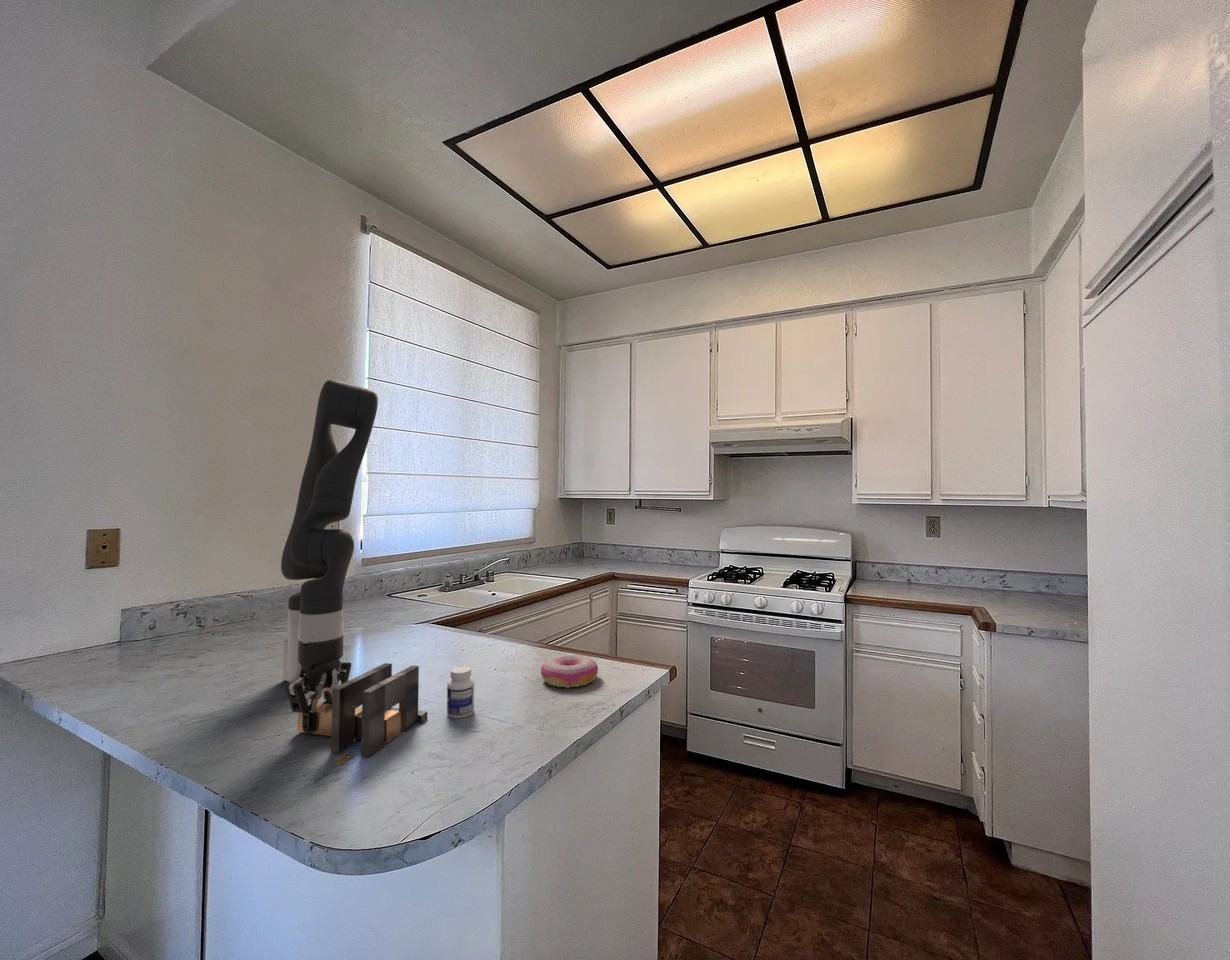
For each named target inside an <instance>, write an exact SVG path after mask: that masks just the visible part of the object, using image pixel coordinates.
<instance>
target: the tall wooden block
mask: <svg viewBox="0 0 1230 960" xmlns="http://www.w3.org/2000/svg"><path fill="white" fill-rule="evenodd" d="M308 705H310V703H308ZM316 711H317V712H316V731H315V732H313V733H310V734H311V735H320V736H326V737H327V736H329V737H331V733H332V704H330V703H323V702H321V701H318V702H317V707H316ZM302 723H303V722H302V713H298V712H297V730H296V731H297V733H305V734H307V733H306V732H304V730H303V729H302ZM400 734H402V731H401V711H394V710H387V711H385V724H384V744H388V742H390V741H391V740H393V739H394V738H396V737H397V736H398V735H400ZM355 740H360V741H362V706H359V707H357V708H355Z"/></svg>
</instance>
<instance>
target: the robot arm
mask: <svg viewBox="0 0 1230 960" xmlns="http://www.w3.org/2000/svg"><path fill="white" fill-rule="evenodd" d="M323 383H324V384H323V385H322V387H321V389H320V393H319V396H318V401H317V407H316V414H315V420H314V427H313V432H312V439H311V445H310V448H309V453H308V455H307V460H306V462H305V467H304V470H303V474H302V479H301V483H300V487H299V491H298V498H297V503H296V507H295V512H294V516H293V520H292V524H291V527H290V529H289V533H288V535H287V538H286V542H285V543H284V544H285V545H284V548H283V551H282V554H281V562H280V566H281V567H280V569H281V574H282V576H283V577H284V578H285V579H287V580H289V581H302V580H306V581H304V582H303V583H302V584H301V587H300V591H299V592H296V593H294V594H292V595H290V597H289V598H288V607H287V609H288V611H287V613H288V614H287V639H285V640H284V642H283V674H282V675H283V676H282V678H283V679H282V680H283V681H284V682H287V683H286V684H285V687H284V688H285V691H286V692H285V693H286V695H287V698H288V701H289V705H290V708H291V711H292V713H297V714H298V713H302V722H303V723H302V729H303V730H304V732H306V733H305V734H311V733H313V732H315V731H316V712H317V711H316V707H317V702H319V699H321V698H323V700H324V701H323V702H322V703H330V704H332V689H333V688H335V687H337V686H339V685H341V684H343V683H345V682H347V681H349V678H350V673H351V669H352V662H348V661H341V659H342V658H343V656H344V634H345V633H344V632H345V631H344V628H345V627H344V615H343V613H344V612H343V605H344V604H343V600H344V597H343V596H344V595H343V594H344V585H345V580H346V576H347V572H348V569H349V566H350V563H351V560H352V558H353V555H354V554H353V553H354V549H355V541H354V539H353V536H352V535H351V534H350V532H349V531H347V530H345V529H341V528H340V529H339V528H332V529H331V528H330V529H327V528H326V527H327V526H328V525H330V524H333V523H337V522H340V521H343V520H346V519H347V518H348V517H349V516H350V513H351V511H352V510H351V509H352V504H353V503H352V502H353V499H354V493H355V492H354V491H355V488H356V482H357V479H358V474H359V471H360V468H361V465H362V462H363V459H364V455H365V454H366V451H367V450H366V449H367V448H368V447H367V446H368V445H369V441H370V437H371V433H372V430H373V426H374V424H375V420H376V416H377V411H378V406H379V405H378V403H379V397H378V394H377V391H375V390H373V389H370V388H367V387H363V386H360V385H355V384H352V383H347V382H345V381H341V380H336V379H329V380H326V381H325V382H323ZM332 425H336V426H339V427H343V428H349V429H353V430H355V431H354V434H353V436H352V437H351V439H350V440H349V442H348V443H347V444H346V445H345V446H344V447H343V449H341V450H340V451H339V450H338V449H337V447H336V443H335V439H334V437H333V431H332V430H333V429H332ZM325 528H326V529H325ZM339 683H340V684H339ZM310 692H311V693H310ZM312 692H313V693H312ZM309 704H310V705H309ZM304 732H303V733H304Z"/></svg>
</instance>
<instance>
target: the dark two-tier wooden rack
mask: <svg viewBox="0 0 1230 960" xmlns="http://www.w3.org/2000/svg"><path fill="white" fill-rule="evenodd" d="M392 672H393V664H392V663H387V662H386V663H385V662H384V663H383V664H381V665H379V666H377V667H374V668H372V669H370V670H368V671H366V672H365V673H364V672H363V673H362V674H360V675H357V676H356V677H354V678H351V679H348V681H347V682H345V683H343V684H341V683H340V684H338V685H339V686H337V687H335V688H333V689H332V733H331V736H330V738H331V741H330V742H331V744H330V753H331V754H335V755H339V754H341V753H342V752H344V751H345V750H347V749H349V748H350V747H352V746H353V745H355V744H356V739H355V708H357V707H362V740H361V749H360V750H361V755H360V756H361V758H364V759H371V758H372V757H373V756H374V755H376V754H377V753H379V752H380V751H382V750H383V749H384V748H385V743H384V724H385V711H387V710H394V711H401V732H405V733H407V731H409V730H411V729H412V728H414V726H416V725H417V724H423V723H424V722H426V721H427V720H428V711H426V710H419V689H420V688H419V679H420V678H419V675H420V674H419V672H420V667H419V665H410V666H409V667H406V668H405V669H402V670H401V671H399V672H397V673H395V674H392ZM396 705H398V708H397V707H395V706H396ZM351 758H353V753H348V752H347V753H345V754H343V755H342V756H340V757H338V758H337V759H336V760H334V761H333V762H332V765H335V766H340V765H342V764H344V763H345V762H346V761H348V760H350V759H351Z"/></svg>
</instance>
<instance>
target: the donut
mask: <svg viewBox="0 0 1230 960" xmlns="http://www.w3.org/2000/svg"><path fill="white" fill-rule="evenodd" d="M598 673H599V667H598V664H597V662H596V661H595V660H594V659H593V658H591V657H589V656H586V655H582V654H560V655H556V656H552V657H549V658H548V659H547V660H546V661H544V662H543V663H542V666H541V668H540V675H541V677H542V680H543V681H544V682H546V683H547V684H548V685H549V686H552V685H553V686H552V687H555V686H557V687H556V688H559V687H577V686H582V685H585V684H587V685H589V684H591V683H592V682H593V681H595V679H596V677H597V676H598ZM590 682H591V683H590ZM588 683H589V684H588ZM585 686H586V685H585ZM582 687H583V686H582Z"/></svg>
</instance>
